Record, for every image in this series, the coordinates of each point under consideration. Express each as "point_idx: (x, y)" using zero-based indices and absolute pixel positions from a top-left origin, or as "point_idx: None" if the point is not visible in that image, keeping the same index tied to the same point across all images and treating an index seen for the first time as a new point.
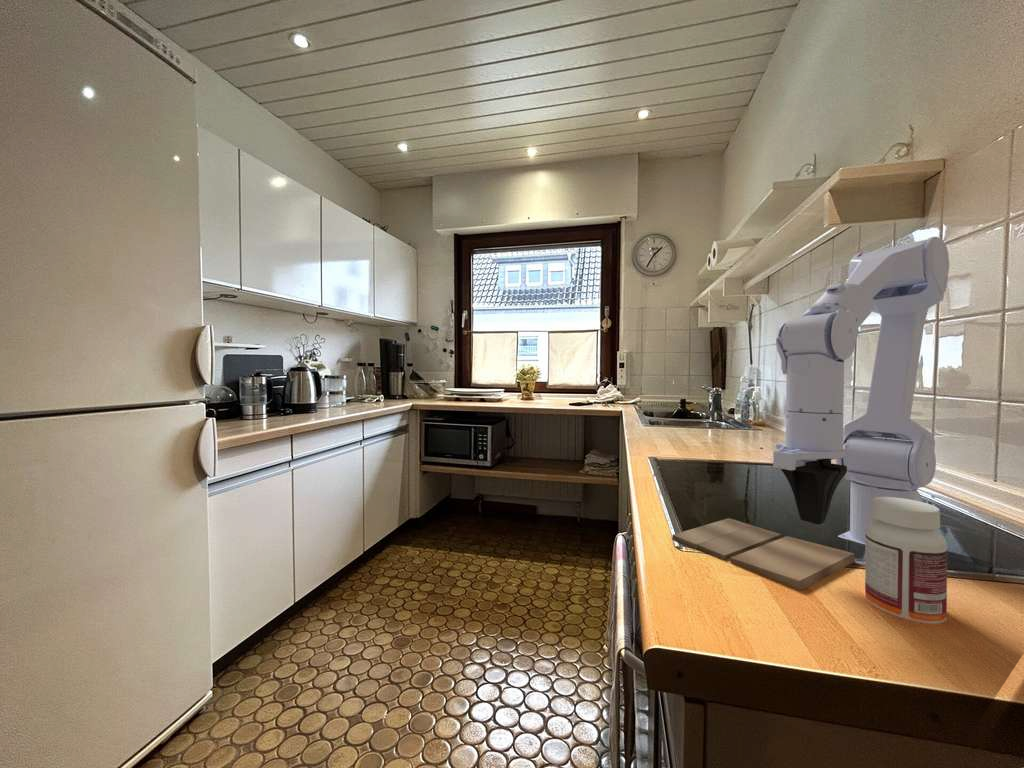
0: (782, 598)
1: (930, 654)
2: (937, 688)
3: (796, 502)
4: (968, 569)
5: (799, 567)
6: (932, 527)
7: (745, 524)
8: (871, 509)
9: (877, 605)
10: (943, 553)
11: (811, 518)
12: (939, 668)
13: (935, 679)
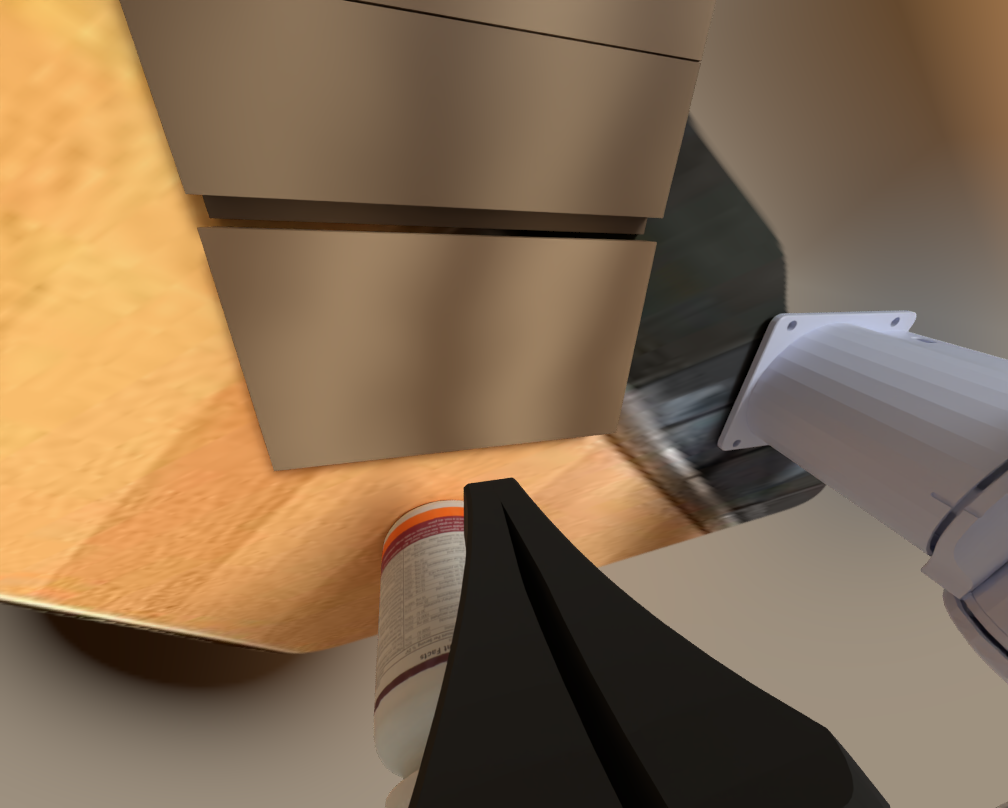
0: (218, 435)
1: (320, 602)
2: (226, 639)
3: (467, 547)
4: (729, 495)
5: (376, 421)
6: None
7: (696, 12)
8: None
9: (386, 541)
10: None
11: (466, 534)
12: (289, 619)
13: (249, 629)
